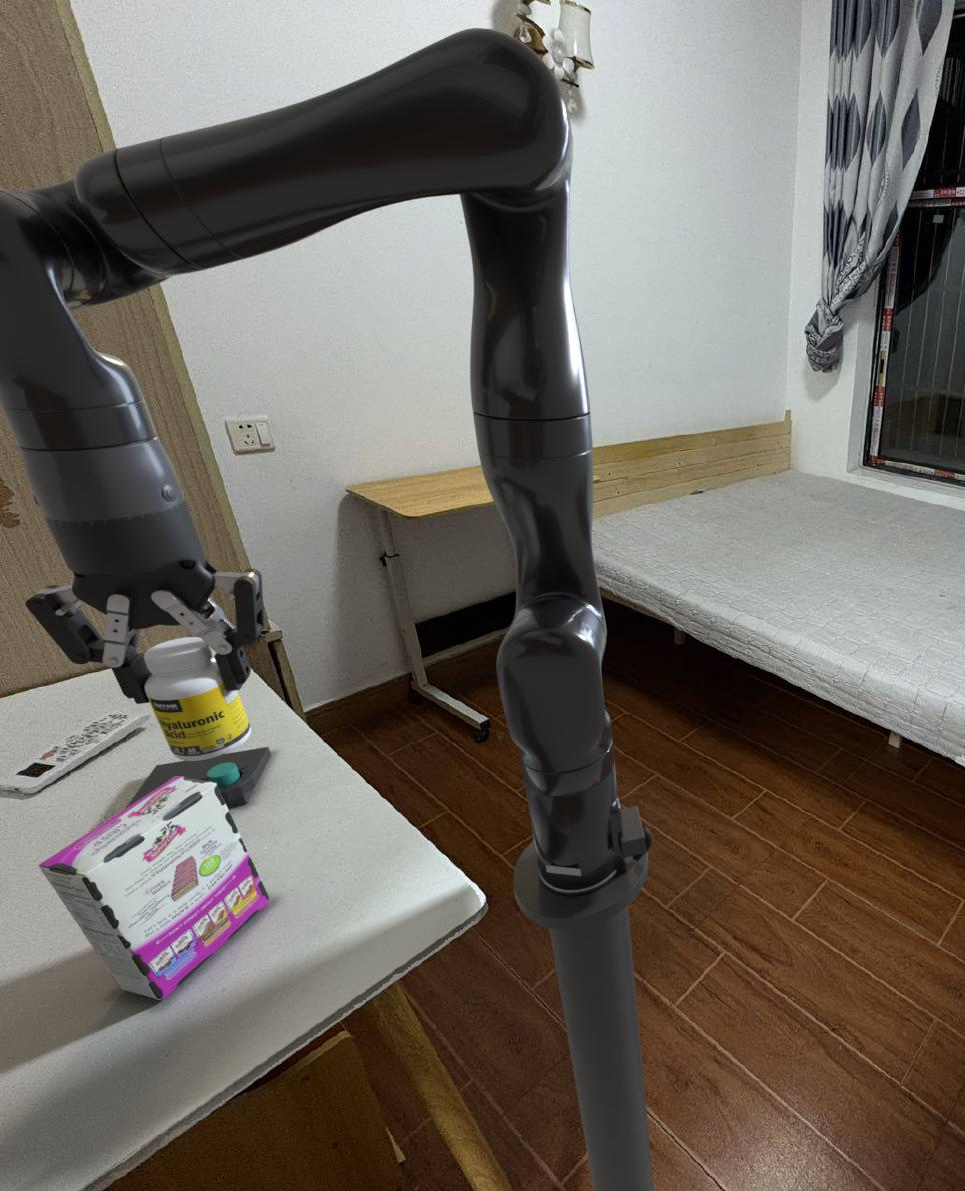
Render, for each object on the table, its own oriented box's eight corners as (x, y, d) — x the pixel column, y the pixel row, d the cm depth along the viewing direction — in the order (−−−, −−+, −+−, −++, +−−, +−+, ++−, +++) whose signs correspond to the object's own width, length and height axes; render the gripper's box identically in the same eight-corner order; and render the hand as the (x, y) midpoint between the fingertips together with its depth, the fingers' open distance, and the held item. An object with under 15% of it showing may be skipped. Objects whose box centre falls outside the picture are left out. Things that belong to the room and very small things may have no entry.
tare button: (243, 771, 82) (239, 760, 81) (235, 785, 79) (231, 774, 79) (216, 775, 81) (211, 764, 80) (207, 790, 78) (202, 779, 78)
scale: (279, 753, 89) (272, 735, 88) (253, 807, 80) (245, 788, 79) (160, 773, 84) (151, 755, 83) (118, 832, 75) (108, 813, 74)
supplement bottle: (162, 769, 54) (116, 669, 50) (188, 731, 58) (147, 637, 54) (242, 755, 56) (204, 659, 52) (261, 720, 60) (227, 628, 56)
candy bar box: (232, 892, 69) (176, 772, 62) (273, 901, 68) (221, 780, 61) (115, 993, 59) (32, 863, 52) (161, 1004, 58) (83, 874, 51)
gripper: (251, 482, 54) (305, 658, 61) (15, 492, 48) (105, 683, 55) (218, 510, 47) (283, 701, 54) (-57, 524, 42) (55, 734, 49)
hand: (193, 691), depth 55 cm, fingers closed on supplement bottle, 5 cm apart
